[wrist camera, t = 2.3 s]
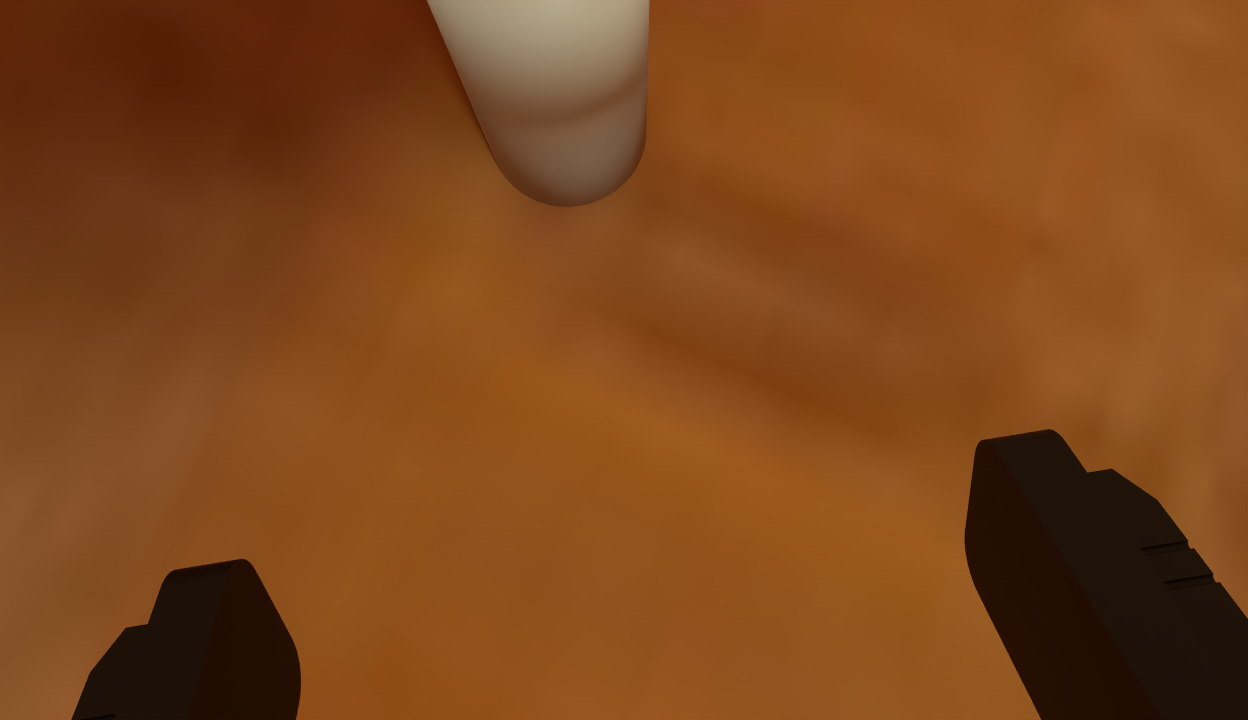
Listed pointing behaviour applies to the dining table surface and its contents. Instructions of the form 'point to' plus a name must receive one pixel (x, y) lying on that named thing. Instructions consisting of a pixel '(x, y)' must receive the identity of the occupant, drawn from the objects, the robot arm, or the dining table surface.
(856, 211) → the dining table surface
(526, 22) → the cream candle
